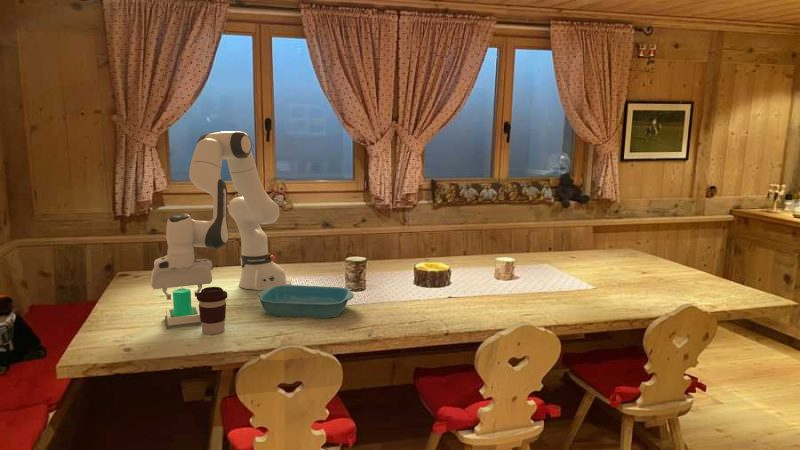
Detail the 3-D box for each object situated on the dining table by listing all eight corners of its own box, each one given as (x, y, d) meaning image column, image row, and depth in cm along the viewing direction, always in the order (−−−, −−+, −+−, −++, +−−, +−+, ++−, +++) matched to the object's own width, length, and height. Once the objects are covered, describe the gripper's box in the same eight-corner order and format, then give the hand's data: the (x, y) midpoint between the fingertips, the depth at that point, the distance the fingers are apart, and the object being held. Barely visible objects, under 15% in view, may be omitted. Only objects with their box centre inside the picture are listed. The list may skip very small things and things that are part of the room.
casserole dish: (249, 317, 209) (249, 299, 208) (268, 299, 231) (268, 282, 230) (347, 323, 206) (347, 304, 205) (357, 304, 228) (358, 287, 227)
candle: (184, 322, 200) (183, 289, 197) (170, 320, 201) (168, 287, 199) (195, 317, 205) (194, 285, 203) (181, 315, 207) (179, 283, 205)
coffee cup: (202, 326, 199) (200, 285, 196) (231, 326, 200) (229, 285, 197) (194, 336, 189) (192, 293, 187) (225, 336, 190) (223, 293, 188)
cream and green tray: (208, 313, 212) (207, 304, 212) (212, 322, 202) (211, 313, 202) (165, 318, 206) (164, 309, 205) (167, 328, 196) (166, 318, 195)
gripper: (210, 255, 207) (212, 292, 209) (149, 260, 198) (151, 298, 200) (213, 259, 201) (214, 297, 204) (150, 264, 192) (152, 303, 195)
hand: (183, 297), depth 202 cm, fingers open, 8 cm apart
